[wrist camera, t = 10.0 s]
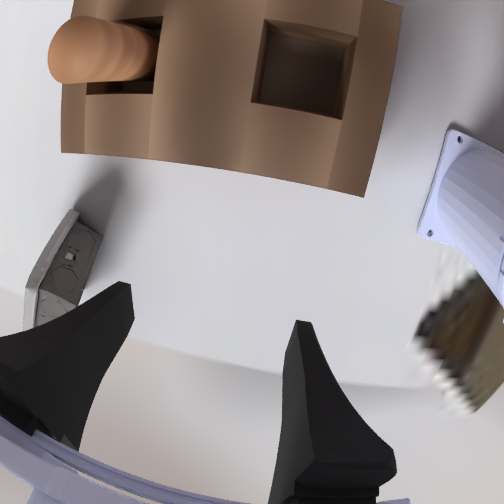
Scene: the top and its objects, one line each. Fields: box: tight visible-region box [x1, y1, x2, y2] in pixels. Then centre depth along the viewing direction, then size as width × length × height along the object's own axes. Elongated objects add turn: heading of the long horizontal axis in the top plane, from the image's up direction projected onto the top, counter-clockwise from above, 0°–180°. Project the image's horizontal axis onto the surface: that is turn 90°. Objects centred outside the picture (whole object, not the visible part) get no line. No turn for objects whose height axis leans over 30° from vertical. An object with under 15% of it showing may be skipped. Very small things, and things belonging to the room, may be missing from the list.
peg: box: [48, 16, 160, 84], centre depth 12 cm, size 3×3×8 cm
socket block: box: [61, 0, 402, 198], centre depth 14 cm, size 17×10×5 cm, turn 82°
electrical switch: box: [23, 209, 104, 331], centre depth 21 cm, size 9×5×9 cm, turn 144°
